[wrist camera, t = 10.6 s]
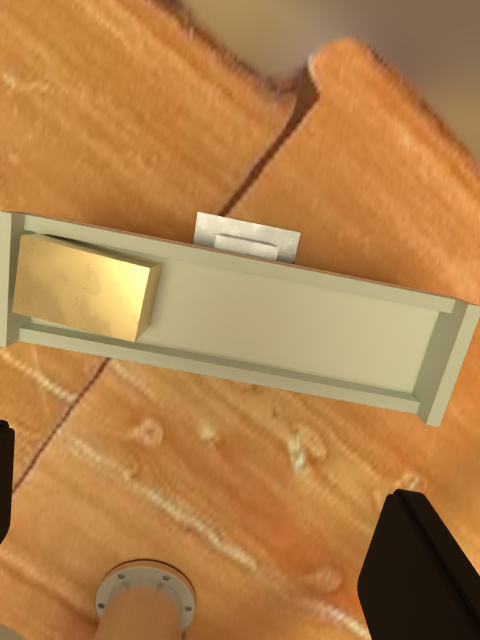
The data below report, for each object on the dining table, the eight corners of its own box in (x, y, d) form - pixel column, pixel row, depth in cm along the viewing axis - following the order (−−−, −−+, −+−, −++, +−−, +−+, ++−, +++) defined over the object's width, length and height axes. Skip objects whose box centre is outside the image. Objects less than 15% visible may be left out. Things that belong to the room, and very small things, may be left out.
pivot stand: (299, 232, 37) (314, 234, 29) (269, 363, 40) (275, 396, 32) (199, 212, 36) (187, 208, 28) (177, 346, 40) (161, 375, 32)
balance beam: (422, 286, 33) (482, 307, 25) (392, 379, 35) (439, 426, 27) (60, 214, 32) (-5, 210, 23) (52, 315, 34) (-9, 344, 25)
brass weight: (162, 262, 27) (149, 268, 23) (149, 326, 28) (134, 342, 24) (53, 233, 27) (20, 235, 23) (44, 300, 28) (12, 312, 24)
